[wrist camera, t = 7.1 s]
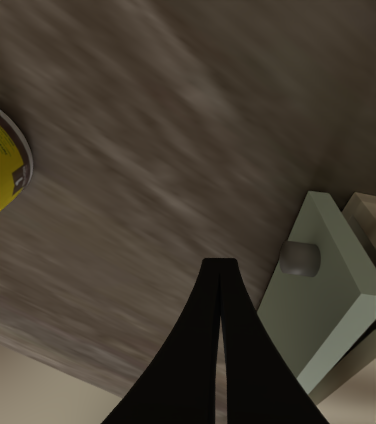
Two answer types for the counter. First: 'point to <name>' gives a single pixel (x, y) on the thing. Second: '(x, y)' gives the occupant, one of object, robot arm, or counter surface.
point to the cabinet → (362, 349)
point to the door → (319, 292)
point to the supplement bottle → (13, 161)
